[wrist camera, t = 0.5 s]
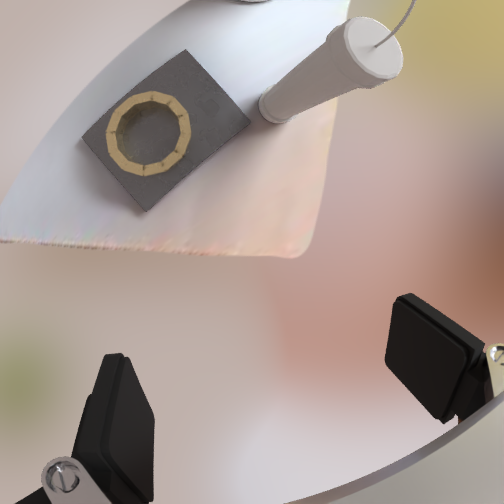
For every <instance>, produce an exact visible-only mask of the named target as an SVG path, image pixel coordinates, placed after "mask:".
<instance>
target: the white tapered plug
mask: <svg viewBox="0 0 504 504" xmlns="http://www.w3.org/2000/svg"><path fill="white" fill-rule="evenodd" d="M415 2H416V0H412V3H411V5H410V7H409V9H408V11H407V13H406V14H405V16H404V18H403V19H402V20H401V22H400V23H399V24H398V26H397V27H396V28H395V29H394V30H393V31H392V32H391V31H389V30H388V29H387V28H386V27H385V26H384V25H383V24H381V23H379V22H378V21H376V20H374V19H372V18H366V17H362V16H361V17H355V18H351V19H349V20H347V21H346V22H345V23H343V24H342V25H339V26H337V27H335V28H334V29H333V30H332V31H331V32H330V33H329V34H328V35H327V38H326V42H325V43H324V44H322V45H321V46H320V47H319V48H317V49H316V50H315V51H314V52H313V53H311V54H310V55H309V56H308V57H306V58H305V59H304V60H303V61H302V62H301V63H299V64H298V65H297V66H296V67H295V68H294V69H292V70H291V71H290V72H289V73H288V74H287V75H286V76H284V77H283V78H282V79H281V80H280V81H279V82H278V83H277V84H274V85H272V86H270V87H268V88H267V89H266V90H265V91H264V92H263V94H262V96H261V97H260V99H259V103H258V105H259V111H260V113H261V114H262V116H263V117H264V118H265V119H266V120H268V121H269V122H273V123H276V124H277V123H284V122H289V121H291V120H292V119H294V118H296V116H297V115H298V114H299V113H301V112H303V111H305V110H307V109H309V108H312V107H314V106H316V105H318V104H321V103H323V102H325V101H328V100H330V99H332V98H335V97H337V96H339V95H342V94H344V93H347V92H349V91H351V90H354V89H356V88H366V89H371V88H374V87H376V86H379V85H381V84H383V83H384V82H386V81H388V80H391V79H393V78H395V77H396V76H397V75H398V73H399V72H400V70H401V69H402V65H403V54H402V51H401V47H400V45H399V43H398V41H397V40H396V38H395V36H394V34H395V33H396V32H397V30H398V29H399V28H400V27H401V26H402V24H403V23H404V22H405V20H406V19H407V17H408V16H409V14H410V12H411V10H412V9H413V7H414V4H415Z"/></svg>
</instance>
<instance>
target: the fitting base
mask: <svg viewBox="0 0 504 504" xmlns="http://www.w3.org/2000/svg"><path fill="white" fill-rule="evenodd" d="M250 123H251V121H250V120H249V119H248V118H247V117H246V116H245V114H244V113H243V112H242V111H241V110H240V108H239V107H238V106H237V105H236V104H235V103H234V102H233V100H232V99H231V98H230V97H229V96H228V95H227V94H226V92H225V91H224V90H223V89H222V88H221V87H220V86H219V85H218V83H217V82H216V81H215V80H214V79H213V78H212V77H211V76H210V75H209V74H208V72H207V71H206V70H205V69H204V68H203V67H202V66H201V65H200V64H199V63H198V62H197V61H196V60H195V59H194V57H193V56H192V55H191V54H190V53H189V52H188V51H187V50H186V49H185V50H184V51H182V52H181V53H179V54H178V55H176V56H175V57H174V58H172V59H171V60H169V61H168V62H167V63H165V64H164V65H163V66H161V67H160V68H159V69H157V70H156V71H155V72H153V73H152V74H151V75H150V76H148V77H147V78H146V79H144V80H143V81H142V82H141V83H140V84H138V85H137V86H136V87H135V88H133V89H132V90H131V91H130V92H129V93H128V94H126V95H125V96H124V97H123V98H122V99H121V100H120V101H118V102H117V103H116V104H115V105H114V106H113V107H112V108H111V109H110V110H109V111H107V112H106V113H105V114H104V115H103V116H102V117H101V118H100V119H99V120H98V121H97V122H96V123H95V124H94V125H93V126H92V127H91V128H90V129H89V130H88V131H87V132H86V133H85V134H84V135H83V136H82V138H83V140H84V141H85V142H86V143H87V145H88V146H89V147H90V148H91V149H92V151H93V152H94V153H95V154H96V155H97V156H98V158H99V159H100V160H101V161H102V162H103V164H104V165H105V166H106V167H107V168H108V169H109V171H110V172H111V173H112V174H113V175H114V176H115V177H116V179H117V180H118V181H119V182H120V183H121V184H122V185H123V187H124V188H125V189H126V190H127V191H128V192H129V193H130V195H131V196H132V197H133V198H134V199H135V200H136V201H137V202H138V204H139V205H140V206H141V207H142V208H143V209H144V210H145V211H146V212H147V211H148V210H149V209H150V208H151V207H152V206H153V205H154V204H155V203H156V202H157V201H159V200H160V199H161V198H162V197H163V196H164V195H165V194H166V193H167V192H168V191H169V190H171V189H172V188H173V187H174V186H175V185H176V184H177V183H178V182H179V181H181V180H182V179H183V178H184V177H185V176H186V175H187V174H188V173H190V172H191V171H192V170H193V169H194V168H195V167H197V166H198V165H199V164H200V163H201V162H202V161H204V160H205V159H206V158H207V157H208V156H210V155H211V154H212V153H213V152H214V151H216V150H217V149H218V148H219V147H221V146H222V145H223V144H224V143H225V142H227V141H228V140H229V139H231V138H232V137H233V136H234V135H236V134H237V133H238V132H239V131H241V130H242V129H243V128H245V127H246V126H247V125H248V124H250Z"/></svg>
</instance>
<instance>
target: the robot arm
mask: <svg viewBox="0 0 504 504" xmlns="http://www.w3.org/2000/svg"><path fill="white" fill-rule="evenodd" d="M241 1H247V2H261V1H267V0H241ZM484 345H485V343H483V342H482V341H481V340H479V339H478V338H477V337H475V336H474V335H473V334H471V333H470V332H468V331H467V330H465V329H464V328H463V327H461V326H460V325H458V324H457V323H456V322H454V321H453V320H451V319H450V318H448V317H447V316H445V315H444V314H443V313H441V312H440V311H438V310H437V309H435V308H434V307H432V306H431V305H429V304H428V303H426V302H425V301H423V300H422V299H420V298H419V297H417V296H415V295H414V294H412V293H408V294H405V295H402V296H399V297H397V299H396V301H395V302H394V304H393V308H392V316H391V323H390V330H389V336H388V342H387V348H386V354H385V363H386V365H387V367H388V368H389V369H390V370H391V371H392V372H393V374H395V376H396V377H397V378H398V379H399V380H400V381H401V382H402V383H403V384H404V385H405V387H407V389H408V390H409V391H410V392H411V393H412V394H413V395H414V396H415V397H416V399H417V400H418V401H419V402H420V403H421V404H422V405H423V406H424V407H425V408H426V409H427V411H428V412H429V413H430V414H431V415H432V416H433V417H434V418H435V419H439V420H440V421H441V422H442V423H443V424H445V423H446V422H448V421H449V420H451V419H452V418H453V417H454V416H455V414H456V415H457V416H458V425H457V426H455V427H454V428H453V429H451V430H449V431H448V432H446V433H445V434H443V435H442V436H440V437H438V438H437V439H435V440H434V441H432V442H430V443H429V444H427V445H425V446H424V447H422V448H420V449H418V450H417V451H415V452H413V453H411V454H410V455H407V456H406V457H404V458H402V459H400V460H398V461H396V462H394V463H392V464H390V465H388V466H386V467H384V468H382V469H380V470H377V471H376V472H373V473H371V474H369V475H367V476H364V477H362V478H359V479H357V480H355V481H352V482H349V483H347V484H344V485H342V486H339V487H336V488H333V489H331V490H328V491H325V492H322V493H319V494H316V495H313V496H310V497H306V498H303V499H299V500H296V501H292V502H289V503H285V504H504V344H500V343H497V344H493V345H490V346H489V347H488V348H487V351H486V353H484V352H483V348H484ZM154 424H155V419H154V414H153V412H152V409H151V407H150V405H149V403H148V401H147V399H146V396H145V394H144V392H143V390H142V387H141V385H140V383H139V380H138V378H137V376H136V373H135V371H134V368H133V366H132V363H131V361H130V359H129V358H128V357H124V355H123V354H122V353H116V354H106V355H105V356H104V358H103V361H102V364H101V367H100V370H99V373H98V376H97V379H96V382H95V385H94V388H93V392H92V394H90V395H89V396H88V398H87V400H86V404H85V407H84V410H83V414H82V417H81V421H80V425H79V428H78V432H77V436H76V439H75V443H74V447H73V451H72V456H71V457H58V458H56V459H53V460H52V461H50V462H49V463H47V465H46V466H45V467H44V469H43V472H42V475H41V482H42V485H43V487H41V488H40V489H38V490H37V491H35V492H33V493H32V494H30V495H28V496H27V497H25V498H24V499H22V500H20V501H18V502H17V503H15V504H149V502H152V501H153V499H154V492H153V490H154V488H153V461H154V460H153V459H154Z"/></svg>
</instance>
